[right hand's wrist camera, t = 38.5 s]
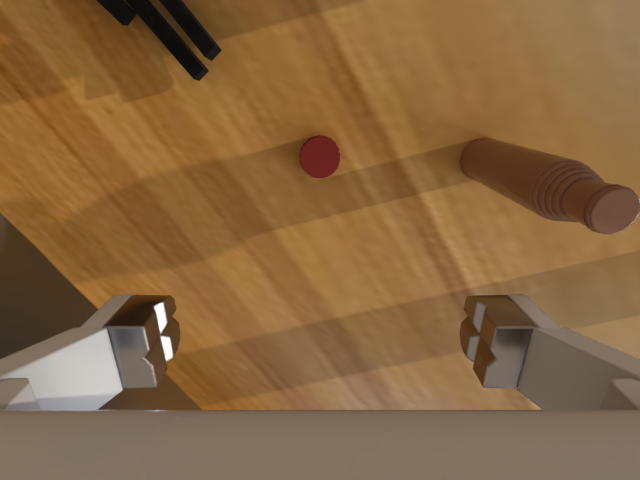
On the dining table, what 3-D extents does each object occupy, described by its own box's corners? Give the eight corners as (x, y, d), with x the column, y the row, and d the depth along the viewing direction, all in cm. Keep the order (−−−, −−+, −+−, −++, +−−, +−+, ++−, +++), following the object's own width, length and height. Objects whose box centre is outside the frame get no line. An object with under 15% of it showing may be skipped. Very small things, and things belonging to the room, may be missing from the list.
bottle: (486, 128, 36) (633, 158, 19) (510, 158, 37) (669, 212, 20) (452, 158, 37) (562, 211, 20) (476, 187, 39) (599, 260, 22)
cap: (295, 167, 38) (294, 170, 36) (307, 129, 36) (307, 131, 35) (331, 179, 38) (331, 184, 37) (345, 143, 37) (346, 145, 35)
